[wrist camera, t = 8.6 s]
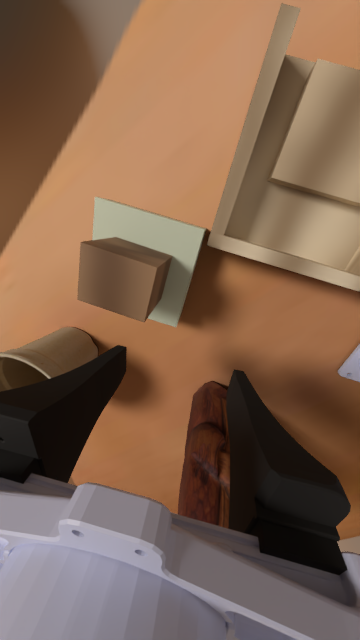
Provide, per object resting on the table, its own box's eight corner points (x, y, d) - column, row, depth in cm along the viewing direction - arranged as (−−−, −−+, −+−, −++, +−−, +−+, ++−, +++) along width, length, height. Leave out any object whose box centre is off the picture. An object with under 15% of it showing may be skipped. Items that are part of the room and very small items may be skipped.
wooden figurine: (283, 417, 27) (386, 716, 10) (250, 440, 29) (290, 703, 13) (208, 371, 25) (195, 630, 9) (181, 399, 28) (134, 636, 12)
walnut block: (172, 255, 17) (157, 267, 13) (161, 298, 19) (144, 322, 14) (116, 236, 17) (80, 242, 13) (110, 281, 19) (77, 299, 14)
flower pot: (33, 312, 26) (-45, 351, 18) (102, 314, 24) (49, 357, 17) (55, 372, 30) (-1, 424, 22) (116, 377, 28) (78, 435, 21)
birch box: (462, 107, 13) (539, 71, 10) (345, 283, 19) (371, 295, 15) (266, 54, 13) (281, 3, 10) (208, 241, 19) (206, 245, 16)
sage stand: (206, 228, 18) (204, 229, 16) (180, 314, 23) (176, 327, 20) (112, 200, 19) (95, 196, 16) (103, 290, 23) (88, 299, 20)
